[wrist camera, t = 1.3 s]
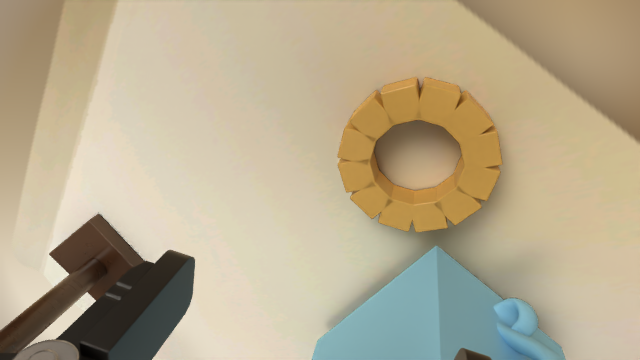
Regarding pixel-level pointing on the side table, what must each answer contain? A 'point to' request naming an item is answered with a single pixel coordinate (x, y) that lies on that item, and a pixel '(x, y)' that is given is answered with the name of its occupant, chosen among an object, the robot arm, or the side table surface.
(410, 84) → the ring
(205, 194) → the side table surface
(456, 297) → the teapot
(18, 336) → the post
